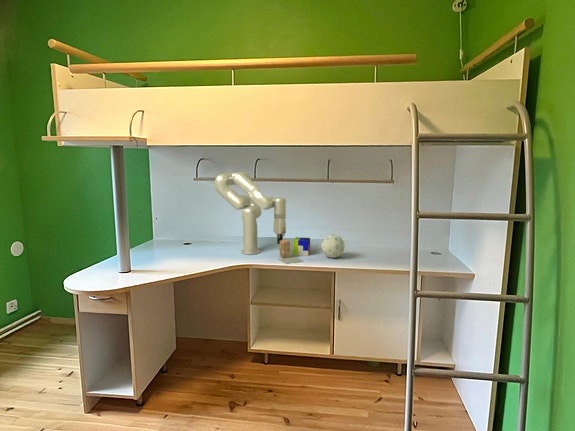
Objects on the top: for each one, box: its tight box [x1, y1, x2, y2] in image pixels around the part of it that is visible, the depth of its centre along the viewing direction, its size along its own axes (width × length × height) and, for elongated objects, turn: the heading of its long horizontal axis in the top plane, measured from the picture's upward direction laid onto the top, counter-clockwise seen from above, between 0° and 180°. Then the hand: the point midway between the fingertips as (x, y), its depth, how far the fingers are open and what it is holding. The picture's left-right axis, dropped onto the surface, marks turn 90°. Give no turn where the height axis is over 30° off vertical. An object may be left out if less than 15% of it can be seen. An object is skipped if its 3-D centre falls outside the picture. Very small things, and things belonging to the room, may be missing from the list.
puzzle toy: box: [292, 236, 311, 257], centre depth 267 cm, size 10×10×10 cm
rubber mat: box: [278, 256, 305, 265], centre depth 250 cm, size 11×12×1 cm
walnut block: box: [279, 239, 291, 259], centre depth 257 cm, size 5×5×11 cm
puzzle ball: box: [320, 234, 345, 259], centre depth 257 cm, size 15×15×15 cm
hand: (280, 243), depth 262 cm, fingers closed
